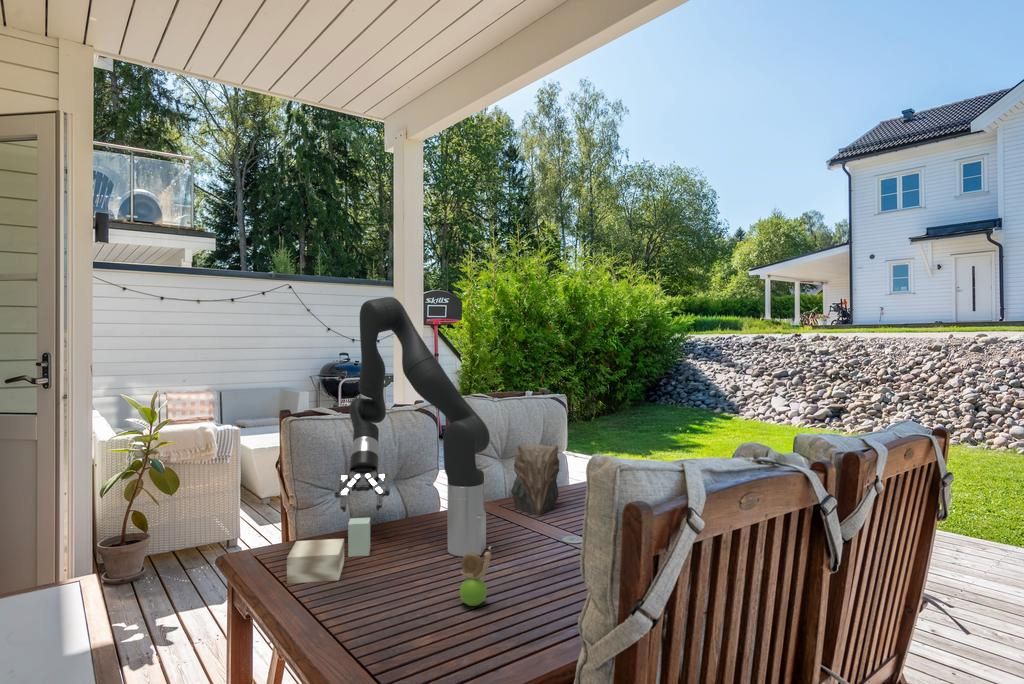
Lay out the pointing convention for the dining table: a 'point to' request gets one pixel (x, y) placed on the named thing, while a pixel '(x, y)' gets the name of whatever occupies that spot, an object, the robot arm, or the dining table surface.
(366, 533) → the sage block
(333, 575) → the birch block
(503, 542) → the dining table surface
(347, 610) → the dining table surface
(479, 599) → the snail figurine
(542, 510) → the owl
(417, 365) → the robot arm
